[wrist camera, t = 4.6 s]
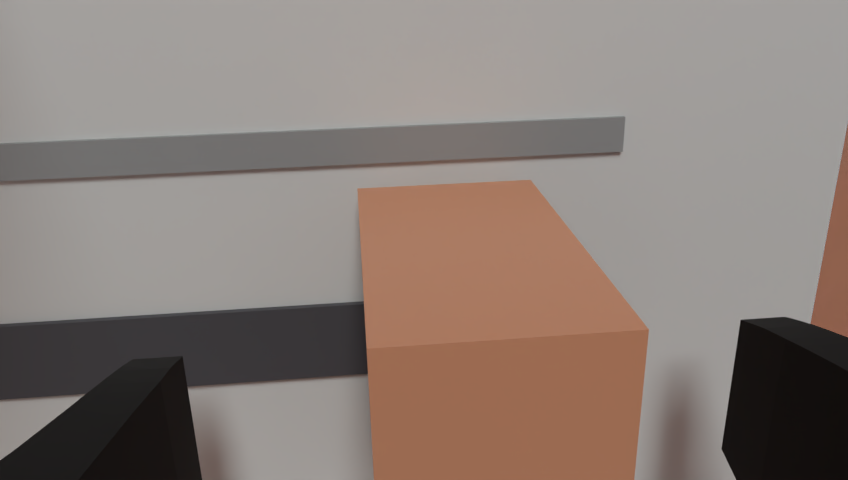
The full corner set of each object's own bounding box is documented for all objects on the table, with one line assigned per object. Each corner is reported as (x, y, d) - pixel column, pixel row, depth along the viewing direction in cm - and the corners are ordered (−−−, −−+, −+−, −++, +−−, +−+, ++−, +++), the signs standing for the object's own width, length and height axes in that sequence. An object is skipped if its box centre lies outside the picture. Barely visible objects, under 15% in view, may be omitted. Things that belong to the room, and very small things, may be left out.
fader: (530, 180, 11) (649, 329, 6) (520, 474, 12) (608, 734, 8) (357, 188, 10) (366, 349, 6) (374, 486, 12) (389, 760, 8)
